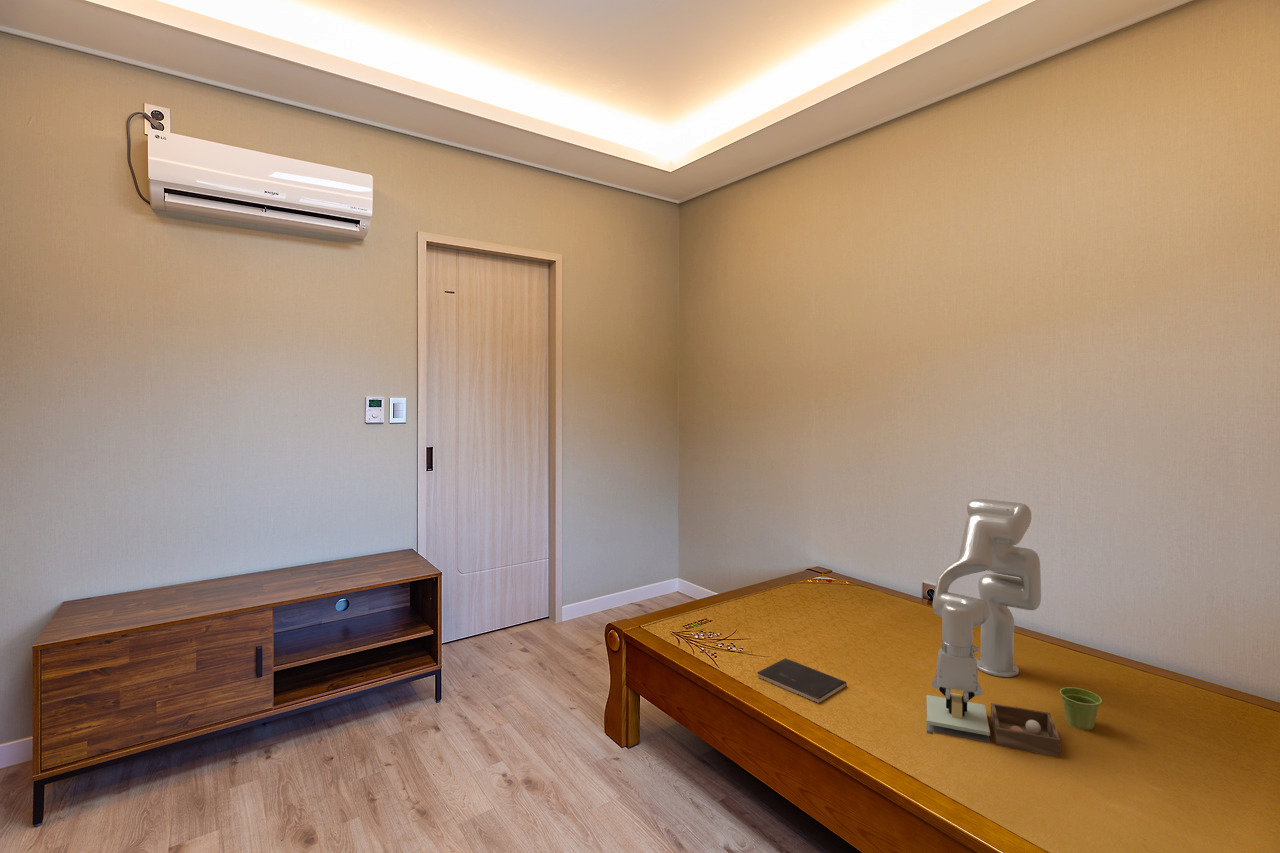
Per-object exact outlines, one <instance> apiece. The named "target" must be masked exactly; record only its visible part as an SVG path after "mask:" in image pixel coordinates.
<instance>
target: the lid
mask: <svg viewBox="0 0 1280 853" xmlns="http://www.w3.org/2000/svg"><path fill="white" fill-rule="evenodd" d="M950 694H951V697H952V713H949V709H947V708H946V698H945V697H941V696H935V695H929V694H926V704H927V715H926V725H927V724H930V725H935V726H940V727H946V728H951V729H956V730H961V731H967V732H972V733H977V734H983V735H988V736H991V730H990V726H989V721H988V716H987V711H986V710H987V709H986V705H985V704H983V703H982V704H981V703H976V702H970V701H968V702H967V712H964V716H962V694H960V693H954V692H950Z"/></svg>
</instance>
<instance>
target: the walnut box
mask: <svg viewBox="0 0 1280 853" xmlns="http://www.w3.org/2000/svg"><path fill="white" fill-rule="evenodd" d="M1028 720H1035V721H1037V722H1038V723H1039V724H1040V726H1041V732H1040V733H1039V734H1032V733H1029V732H1028V731H1027V730H1026V727H1025V724H1026V722H1027V721H1028ZM990 721H991V727H992V730H993V735H994V739H995V740H994V741H995V745H996V746H998V747H999V746H1000V747H1005V748H1011V749H1015V750H1020V751H1027V752H1031V753H1036V754H1041V755H1047V756H1050V757H1051V756H1052V757H1056V758H1061V749H1062V746H1061V743H1062V742H1061V738H1060V735H1059V733H1058V730H1057V728H1056V725H1055V722H1054V719H1053V717H1052V714H1051V712H1046V711H1040V710H1035V709H1028V708H1022V707H1016V706H1011V705H1006V704H1004V705H1003V704H1000V703H993V702H992V703H991V704H990ZM1011 726H1018V727H1020V728H1021V729H1022V730H1023V731H1024V732H1021V731H1016V730H1010V729H1009V728H1010V727H1011Z"/></svg>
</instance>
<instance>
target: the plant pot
mask: <svg viewBox="0 0 1280 853" xmlns="http://www.w3.org/2000/svg"><path fill="white" fill-rule="evenodd" d="M1059 694H1060V696H1061V699H1062V701H1063V708H1064V713H1065V721H1066V723H1067V724H1068V725H1070V726H1071V727H1073V728H1076V729H1079V730H1083V731H1084V730H1085V731H1090V730H1091V731H1092V730H1094V728H1095V724H1096V718H1097V715H1098V710H1099V707H1100V705H1101V704H1102V702H1103V699H1102V697H1101V696H1100V695H1098V694H1096V693H1095V692H1093V691H1090V690H1087V689H1083V688H1079V687H1071V686H1070V687H1069V686H1067V687H1062V688H1061V689H1059Z"/></svg>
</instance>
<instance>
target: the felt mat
mask: <svg viewBox="0 0 1280 853" xmlns="http://www.w3.org/2000/svg"><path fill="white" fill-rule="evenodd" d="M925 705H926V708H925V709H926V712H925V714H926V716H927V703H926V704H925ZM926 733H927V734H934V733H938V734H943V735H947V736H948V735H949V736H954V737H957V738H958V737H959V738H962V739H963V738H965V739H969V740H974V741H980V742H983V743H988V744H989V743H990V738H989V736H988V735H983V734H977V733H972V732H967V731H961V730H956V729H951V728H946V727H940V726H935V725H930V724H927V723H926Z"/></svg>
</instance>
